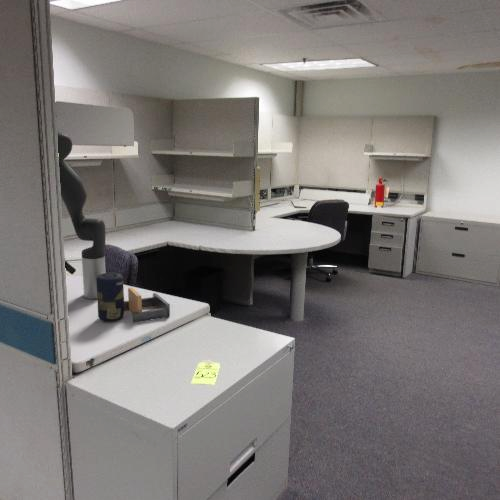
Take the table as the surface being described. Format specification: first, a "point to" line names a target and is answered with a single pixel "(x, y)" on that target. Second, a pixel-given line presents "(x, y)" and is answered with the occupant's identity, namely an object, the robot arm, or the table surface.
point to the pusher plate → (134, 300)
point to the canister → (110, 297)
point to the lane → (160, 312)
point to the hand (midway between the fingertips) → (73, 271)
